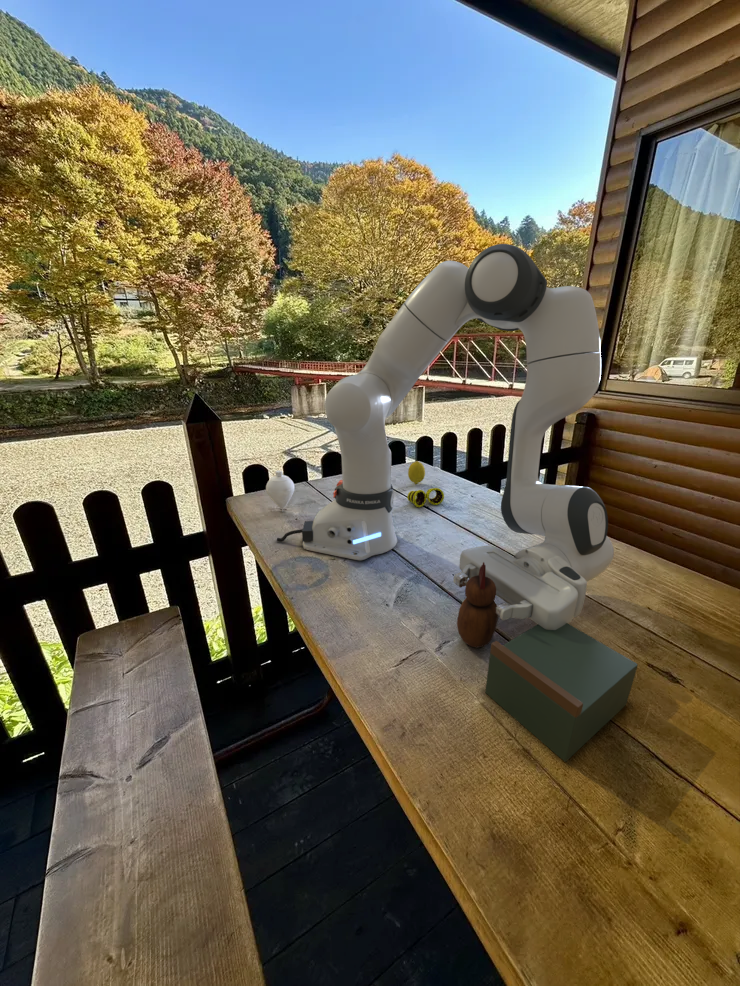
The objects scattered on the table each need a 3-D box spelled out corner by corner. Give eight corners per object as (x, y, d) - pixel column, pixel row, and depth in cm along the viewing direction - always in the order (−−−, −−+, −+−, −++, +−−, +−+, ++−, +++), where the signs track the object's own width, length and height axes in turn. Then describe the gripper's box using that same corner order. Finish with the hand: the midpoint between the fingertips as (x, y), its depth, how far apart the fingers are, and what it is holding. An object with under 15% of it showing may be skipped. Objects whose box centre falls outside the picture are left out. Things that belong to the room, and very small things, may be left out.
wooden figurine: (486, 659, 62) (496, 574, 57) (450, 645, 65) (457, 563, 60) (499, 633, 68) (509, 554, 62) (465, 621, 71) (472, 544, 65)
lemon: (423, 487, 132) (424, 464, 129) (406, 486, 133) (407, 463, 130) (425, 481, 137) (426, 459, 134) (408, 481, 138) (409, 458, 135)
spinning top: (276, 519, 110) (272, 477, 106) (264, 510, 116) (259, 470, 111) (301, 512, 115) (298, 471, 110) (288, 504, 120) (284, 465, 116)
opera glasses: (436, 501, 123) (436, 485, 123) (444, 504, 118) (444, 487, 118) (406, 505, 121) (406, 488, 120) (414, 508, 116) (413, 491, 115)
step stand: (484, 692, 57) (491, 643, 54) (546, 651, 64) (554, 605, 61) (565, 762, 47) (578, 707, 44) (626, 705, 55) (641, 654, 51)
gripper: (495, 531, 77) (436, 549, 71) (597, 586, 60) (531, 616, 54) (491, 561, 79) (434, 580, 73) (589, 621, 62) (525, 654, 56)
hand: (476, 596), depth 63 cm, fingers open, 8 cm apart
